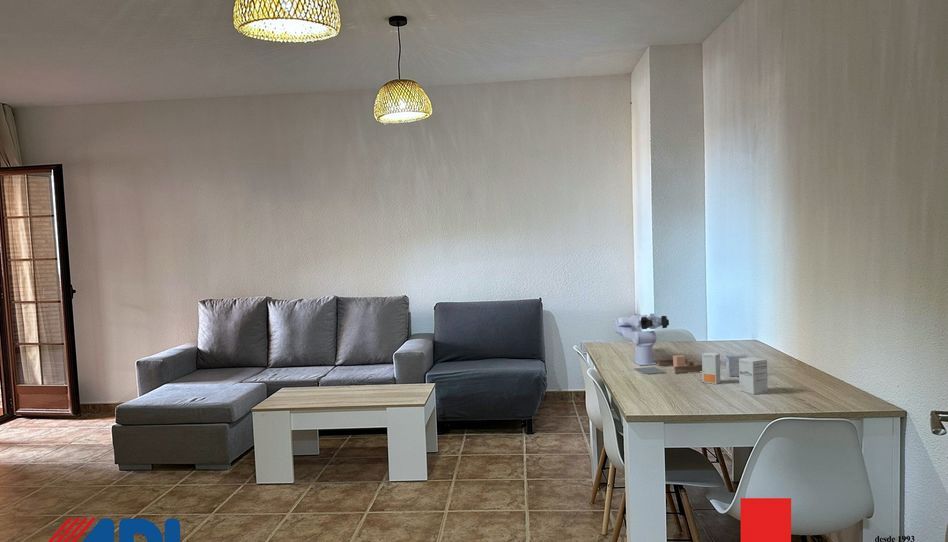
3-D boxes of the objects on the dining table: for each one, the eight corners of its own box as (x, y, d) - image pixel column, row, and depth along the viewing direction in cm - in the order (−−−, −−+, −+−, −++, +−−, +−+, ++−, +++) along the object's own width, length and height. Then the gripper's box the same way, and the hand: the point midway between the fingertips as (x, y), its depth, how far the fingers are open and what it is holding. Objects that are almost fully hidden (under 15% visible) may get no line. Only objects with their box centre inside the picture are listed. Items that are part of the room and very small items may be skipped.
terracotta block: (673, 368, 317) (672, 355, 316) (681, 368, 317) (681, 355, 317) (677, 370, 313) (676, 357, 312) (685, 369, 313) (685, 356, 313)
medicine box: (745, 374, 297) (744, 354, 297) (748, 376, 293) (747, 356, 292) (726, 375, 298) (725, 355, 297) (729, 377, 293) (728, 356, 293)
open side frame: (658, 366, 323) (658, 360, 323) (685, 364, 325) (684, 358, 325) (675, 373, 305) (675, 367, 305) (703, 371, 306) (703, 365, 306)
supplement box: (738, 391, 267) (738, 358, 267) (753, 388, 270) (752, 356, 270) (753, 394, 260) (752, 361, 260) (768, 392, 263) (767, 359, 263)
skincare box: (702, 382, 285) (701, 353, 284) (706, 381, 288) (705, 352, 287) (716, 384, 281) (715, 354, 280) (721, 382, 284) (720, 353, 283)
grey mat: (633, 369, 319) (633, 368, 319) (654, 368, 320) (654, 366, 320) (644, 374, 306) (644, 373, 306) (666, 373, 307) (666, 372, 307)
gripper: (633, 314, 324) (643, 314, 311) (662, 312, 326) (674, 313, 313) (633, 329, 324) (644, 330, 311) (663, 327, 326) (675, 329, 313)
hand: (659, 323), depth 312 cm, fingers open, 7 cm apart
